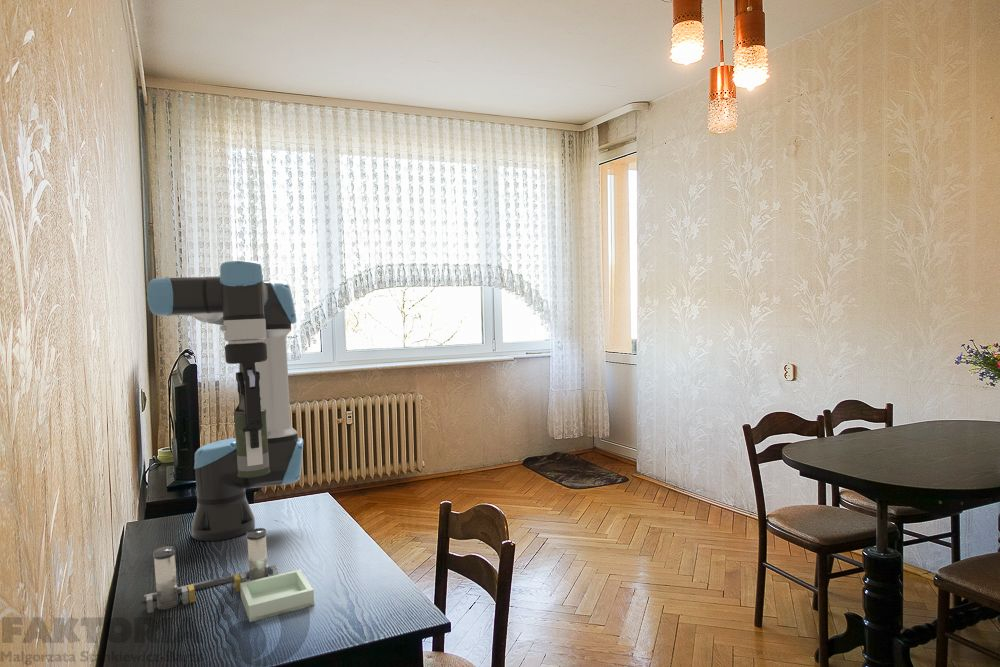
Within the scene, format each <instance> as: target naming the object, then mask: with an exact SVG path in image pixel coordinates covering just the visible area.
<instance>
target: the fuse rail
mask: <svg viewBox="0 0 1000 667" xmlns="http://www.w3.org/2000/svg"><path fill="white" fill-rule="evenodd" d="M245 534H246V539H247V542H246V543H247V554H248V571H244V572H243V571H242V572H239V573H235V574H231V575H225V576H222V577H217V578H212V579H209V580H204V581H199V582H195V583H192V584H191V583H190V584H186V585H183V586H178V580H177V579H178V578H177V568H176V563H177V562H176V547H175V546H173V545H172V546H171V545H170V546H168V545H167V546H162V547H159V548H158V547H157V548H156V549H154V550H153V551H152V557H153V561H154V562H153V564H154V574H155V575H154V577H155V589H156V590H155V591H156V592H151V593H146V594H144V595H143V598H144V600H143V601H144V603H145V602H146V612H147V614H150V613H154V600H156V606H157V609H158V610H164V611H165V610H169V609H172V608H175V607H177V606H178V605H179V594H181V601H182V605H188V604H192V603H195V602H196V593H195V592H196V590H198V591H199V590H200V589H201V590H202V589H205V588H209V587H214V586H217V585H218V586H220V585H222V584H226V583H231V582H233V587H234V590H235V592H236V593H237V592H241V590H240V583H244V582H248V577H249V581H252V580H257V579H261V578H265V577H269V574H270V576H274V575H278V574H279V569H278V568H277V566H276V564H275V565H274V564H273V565H270V566H269V565H268V562H269V561H268V551H267V550H268V549H267V529H266V528H263V527H260V528H259V527H258V528H257V527H256V528H253V529H252V530H249V531H248V532H247V533H245Z"/></svg>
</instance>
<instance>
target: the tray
mask: <svg viewBox="0 0 1000 667" xmlns="http://www.w3.org/2000/svg"><path fill="white" fill-rule="evenodd" d="M240 590H241V591H240V600H241V601H242V605H243V608H244V610H245V612H246V616H247V618H248V620H249V623H251V622H255V621H260V620H263V619H267V618H271V617H275V616H278V615H279V616H280V615H282V614H286V613H291V612H295V611H297V610H302V609H305V608H309V607H312V606H313V607H314V606H315V596H314V595H315V594H314V588H313V587H312V585H311V584H310V582H309V581H308V579H307V578H306V577H305V575H304V573H303V571H302V570H301V569H300V568H299V569H296V570H291V571H287V572H282V573H278V575H274V576H271V575H270V576H269V575H268V577H265V578H261V579H257V580H252V581H250V580H249V581H248V580H247V582H244V583H240Z"/></svg>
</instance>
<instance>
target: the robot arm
mask: <svg viewBox="0 0 1000 667" xmlns="http://www.w3.org/2000/svg"><path fill="white" fill-rule="evenodd" d="M219 268H220V270H219V276H204V277H203V276H197V277H196V276H195V277H194V276H192V277H191V276H187V277H186V276H185V277H184V276H183V277H168V276H167V277H166V276H165V277H159V278H152V279H151V280H150V281H149V283H148V284H147V290H146V293H147V294H146V296H147V304H148V305H147V306H148V308H149V310H150V312H151V313H152V314H153V315H154V316H166V317H171V316H188V317H193V318H194V319H196V320H197V321H200V322H203V323H208V324H212V325H218V326H220V327H219V328H220V329H219V330H220V331H221V332H223V331H224V333H223V335H224V337H223V338H224V341H225V342H228V344H225V346H224V358H225V360H224V361H225V363H226V364H229V365H230V364H231V365H237V364H238V368H239V369H238V371H237V372H235V379H236V382H237V384H236V385H237V392H238V403H239V402H240V398H241V397H243V398H244V408H245V419H246V428H243V429H242V432H245V434H246V451H247V466H253V465H260V464H263V454H262V438H261V428H262V426H263V424H262V418H261V409H266V410H267V411H266V424H267V440H268V456H269V469H270V473H268V474H266V475H263V476H258V477H251V478H241V477H238V476H237V474H238V464H237V449H236V437H235V438H234V437H232V438H226V439H222V440H217V441H213V442H210V443H208V444H205V445H202V446H200V447H199V448H198V449H197V450H196V451H195V452H194V466H193V470H194V474H195V488H196V489H195V490H196V502H197V504H196V505H197V506H196V510H195V513H194V516H193V520H192V524H191V530H190V531H191V538H192V539H193V540H196V541H201V542H212V541H213V542H215V541H216V542H217V541H222V540H223V541H224V540H228V539H233V538H236V537H237V538H238V537H240V536H243V535H244V534H246V533H247V532H248V531H249V530H252V529H255V527H256V522H255V516H254V513H253V511H252V508H251V507H250V504H249V501H248V498H247V495H246V493H247V492H246V490H247V489H257V488H264V487H272V486H273V487H274V486H284V485H290V484H295V483H296V482H298V481H300V478H301V475H302V466H303V465H302V463H303V451H304V439H303V438H302V437H298V431H297V430H296V429H295V428H293V426H292V422H291V420H292V419H291V405H290V391H289V390H290V387H289V372H288V370H289V369H288V354H287V336H288V335H289V333H291V331H292V324H293V325H294V324H296V323H297V315H296V310H295V309H296V308H295V304H294V299H293V294H292V289H291V286H290V284H289V283H288V282H287V281H286V280H281V279H280V280H277V279H276V280H275V279H266V280H264V274H263V269H262V264H261V263H260V262H258V261H255V260H254V261H253V260H230V261H224V262H222V263H221V264H220V267H219ZM260 397H261V400H260Z"/></svg>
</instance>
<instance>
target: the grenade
mask: <svg viewBox="0 0 1000 667" xmlns="http://www.w3.org/2000/svg"><path fill="white" fill-rule="evenodd" d="M260 400H261V397H260ZM266 411H267V410H266V409H261V418H262V424H263V426H262V428H261V438H262V454H263V464H260V465H253V466H247V451H246V434H245V432H242V429H243V428H246V419H245V408H244V398H243V397H241V398H240V402H239V401H238V405H237V407H235V410H234V412H233V413H232V414H233V418H234V429H235V431H234V432H235V438H236V449H237V464H238V474H237V476H238V477H241V478H251V477H258V476H263V475H266V474H268V473H270V469H269V456H268V440H267V424H266Z"/></svg>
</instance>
